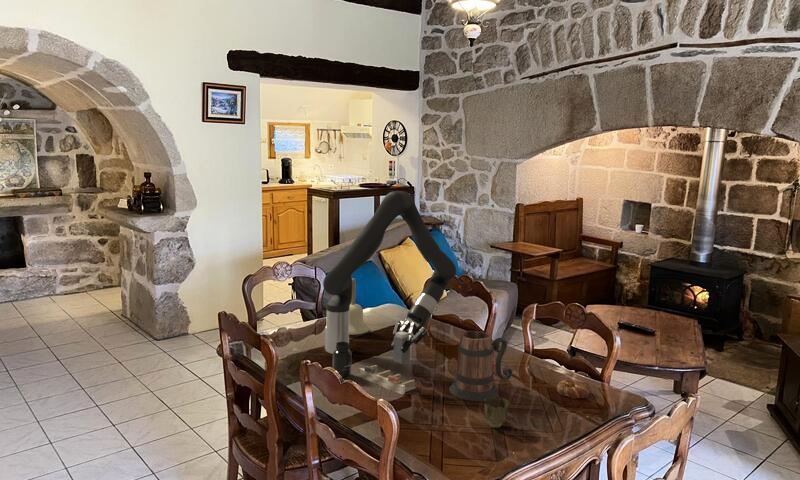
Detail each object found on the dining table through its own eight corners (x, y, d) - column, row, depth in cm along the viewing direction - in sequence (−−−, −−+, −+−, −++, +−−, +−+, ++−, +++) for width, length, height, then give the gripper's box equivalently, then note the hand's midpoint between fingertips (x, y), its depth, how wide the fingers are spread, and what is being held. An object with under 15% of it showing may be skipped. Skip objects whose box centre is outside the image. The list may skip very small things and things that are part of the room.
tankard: (464, 403, 192) (467, 344, 189) (440, 385, 207) (442, 330, 204) (524, 393, 202) (527, 337, 199) (496, 376, 217) (499, 324, 214)
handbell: (328, 333, 264) (328, 278, 260) (349, 325, 276) (350, 273, 272) (355, 339, 255) (356, 283, 251) (376, 331, 267) (377, 278, 264)
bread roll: (548, 389, 207) (548, 379, 207) (573, 385, 212) (574, 375, 211) (570, 402, 196) (571, 391, 196) (596, 397, 201) (597, 387, 200)
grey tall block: (393, 360, 203) (393, 332, 201) (401, 358, 206) (402, 330, 204) (401, 363, 200) (402, 335, 199) (409, 361, 203) (410, 333, 201)
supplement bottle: (348, 379, 210) (348, 347, 208) (329, 377, 211) (330, 345, 209) (353, 372, 216) (354, 341, 215) (335, 371, 218) (336, 339, 216)
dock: (358, 376, 213) (359, 364, 212) (373, 371, 218) (373, 359, 217) (402, 394, 198) (402, 381, 197) (416, 389, 203) (417, 376, 202)
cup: (480, 420, 180) (481, 396, 179) (504, 420, 180) (505, 395, 179) (486, 432, 172) (487, 406, 171) (510, 432, 173) (512, 406, 172)
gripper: (403, 299, 210) (377, 339, 203) (433, 307, 200) (407, 349, 194) (413, 311, 215) (388, 350, 208) (442, 319, 205) (418, 360, 198)
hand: (397, 349), depth 201 cm, fingers closed on grey tall block, 4 cm apart
